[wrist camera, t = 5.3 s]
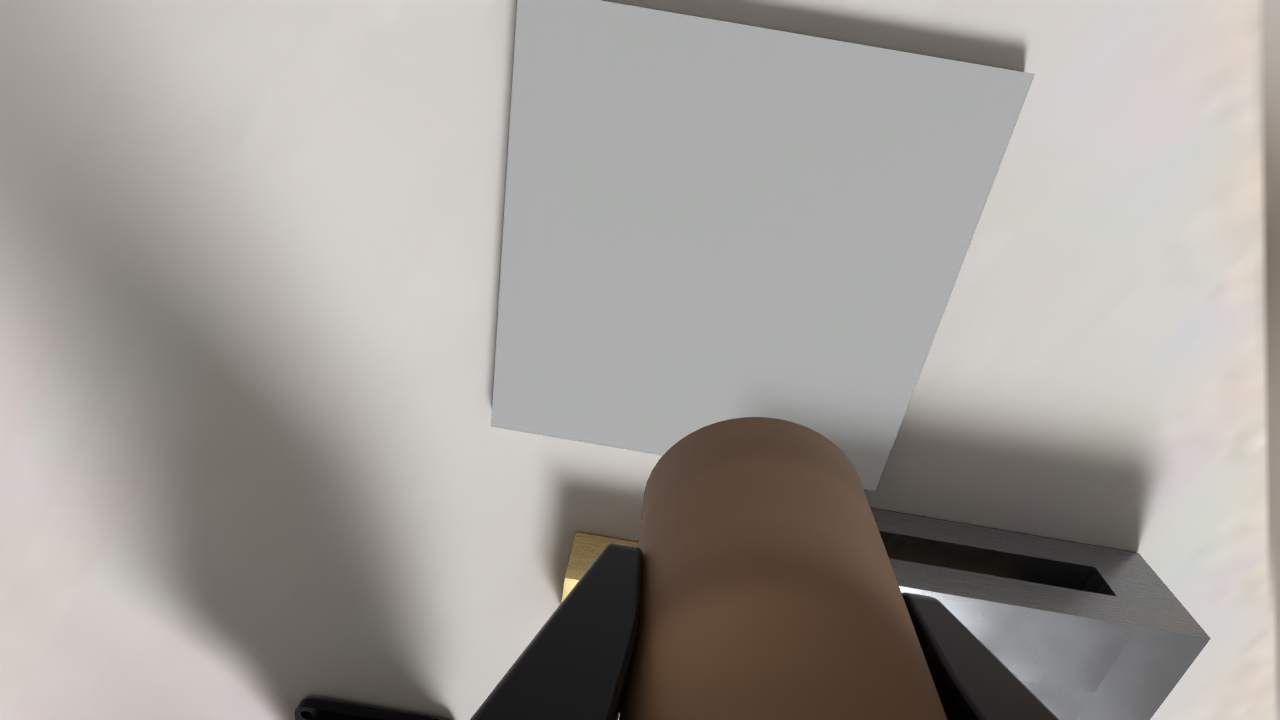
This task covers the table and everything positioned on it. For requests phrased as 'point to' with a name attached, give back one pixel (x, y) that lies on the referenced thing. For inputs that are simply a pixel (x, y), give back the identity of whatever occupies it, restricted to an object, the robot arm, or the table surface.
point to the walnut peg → (768, 587)
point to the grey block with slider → (1036, 610)
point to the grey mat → (731, 225)
